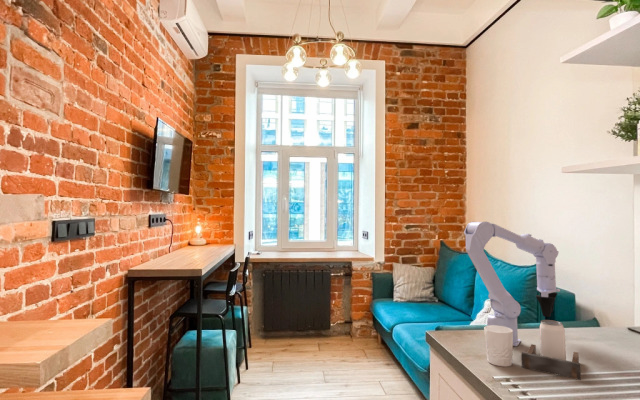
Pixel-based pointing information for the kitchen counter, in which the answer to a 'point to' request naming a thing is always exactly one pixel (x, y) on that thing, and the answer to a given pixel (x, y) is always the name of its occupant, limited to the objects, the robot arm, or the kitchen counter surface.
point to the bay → (551, 364)
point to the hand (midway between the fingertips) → (547, 314)
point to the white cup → (499, 345)
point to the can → (552, 339)
